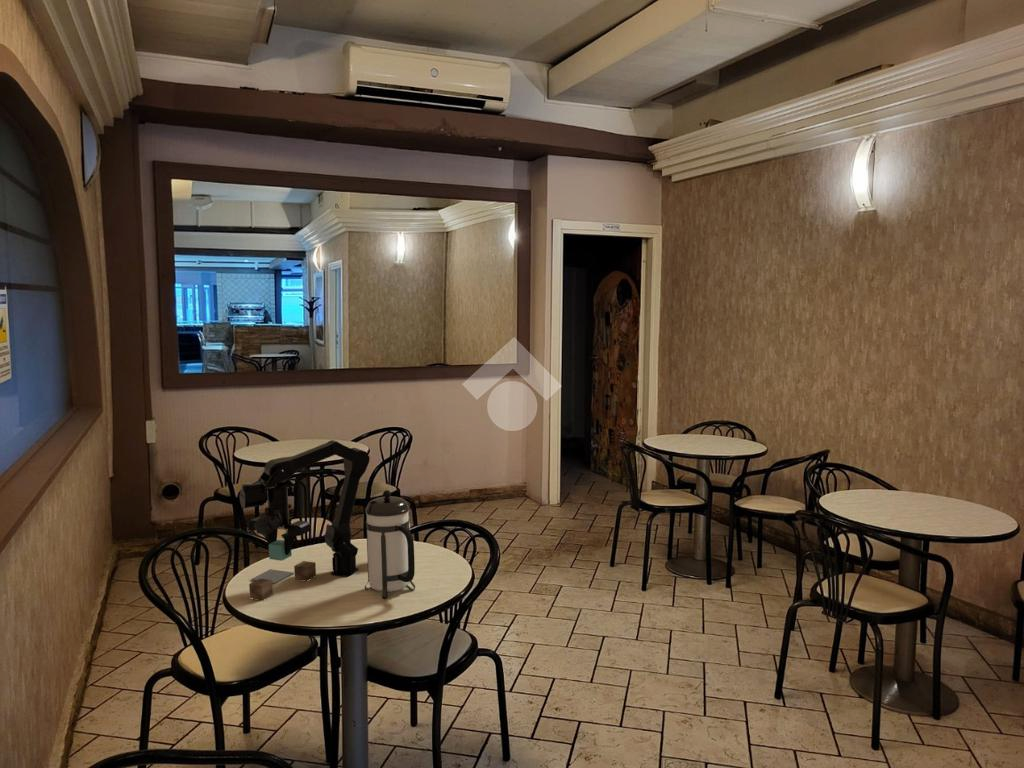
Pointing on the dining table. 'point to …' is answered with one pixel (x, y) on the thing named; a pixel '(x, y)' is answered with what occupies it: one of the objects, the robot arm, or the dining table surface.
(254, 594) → the walnut cube left
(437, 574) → the dining table surface
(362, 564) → the dining table surface
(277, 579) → the slate tile
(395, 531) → the coffee press
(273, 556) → the teal cube
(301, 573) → the walnut cube right
